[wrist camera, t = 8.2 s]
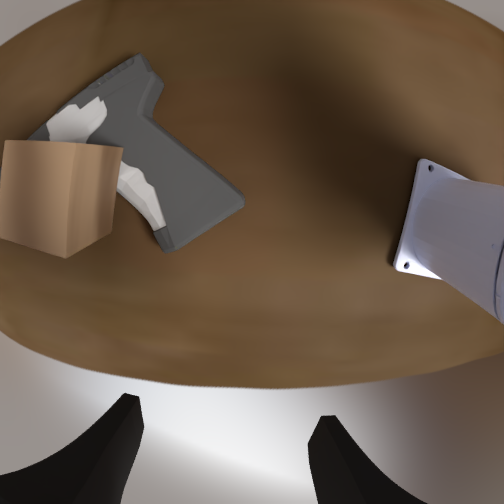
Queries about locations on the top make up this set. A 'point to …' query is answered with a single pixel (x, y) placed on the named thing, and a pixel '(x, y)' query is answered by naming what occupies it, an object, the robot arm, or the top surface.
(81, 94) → the handgun
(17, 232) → the walnut cube
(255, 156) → the top surface
